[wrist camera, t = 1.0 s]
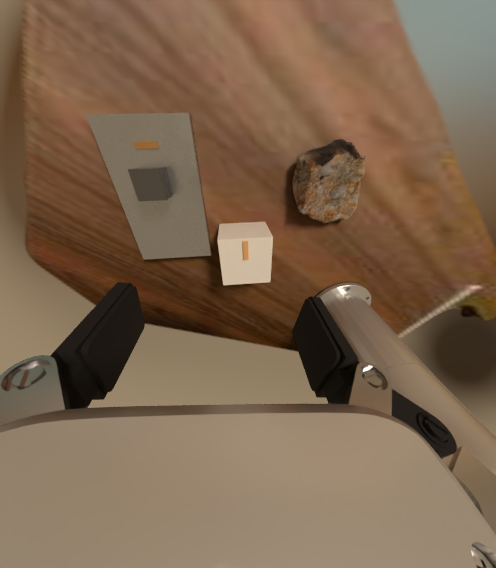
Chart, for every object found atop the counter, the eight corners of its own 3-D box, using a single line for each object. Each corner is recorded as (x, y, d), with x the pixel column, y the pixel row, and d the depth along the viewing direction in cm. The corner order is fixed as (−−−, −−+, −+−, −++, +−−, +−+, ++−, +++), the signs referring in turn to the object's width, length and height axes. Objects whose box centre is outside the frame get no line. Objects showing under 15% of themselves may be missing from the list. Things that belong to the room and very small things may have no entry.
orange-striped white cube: (263, 261, 31) (270, 283, 26) (224, 264, 30) (223, 286, 25) (264, 221, 27) (273, 237, 22) (219, 224, 26) (217, 240, 21)
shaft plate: (211, 252, 29) (209, 265, 25) (146, 255, 28) (135, 269, 25) (190, 114, 20) (182, 106, 16) (93, 116, 19) (63, 108, 16)
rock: (280, 164, 23) (300, 238, 27) (304, 147, 18) (325, 243, 22) (338, 138, 24) (350, 214, 28) (379, 115, 19) (386, 213, 23)
